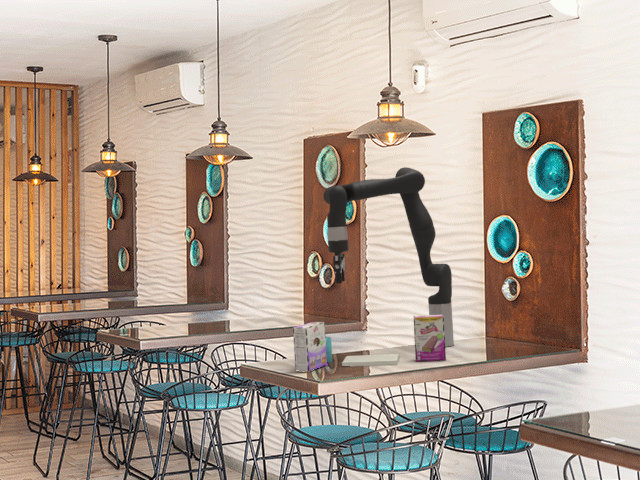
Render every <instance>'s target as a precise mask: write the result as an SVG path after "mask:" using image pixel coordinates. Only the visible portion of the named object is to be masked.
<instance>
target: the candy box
mask: <svg viewBox="0 0 640 480" xmlns="http://www.w3.org/2000/svg"><path fill="white" fill-rule="evenodd" d="M292 331H293V332H292V333H293V334H292V335H293V348H294V349H293V351H294V365H295V367H294V368H295V371H296V370H299V371H310V370H313V369H317V368H319V369H321V368H320V367H322V368H325V367H327V366H328V363H327V351H326V337H327V335H326V327H325V322H324V321H312V322H308V323H305V324H300V325H297V326H293V327H292ZM317 370H318V369H317Z"/></svg>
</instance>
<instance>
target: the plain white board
mask: <svg viewBox="0 0 640 480" xmlns="http://www.w3.org/2000/svg"><path fill="white" fill-rule="evenodd" d="M399 361H400V354H399V353H393V354H391V353H390V354H368V355H366V354H365V355H361V354H360V355H346V357H345V358H344V359H343V361H342V362H341V367H342V366H350V367H369V366H370V367H374V366H376V365H377V366H378V367H379V366H396V365H397V366H398V363H399ZM377 366H376V367H377Z"/></svg>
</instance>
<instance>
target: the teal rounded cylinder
mask: <svg viewBox="0 0 640 480" xmlns="http://www.w3.org/2000/svg"><path fill="white" fill-rule="evenodd" d="M332 344H333V343H332V337H331V336H326V351H327V362H328V363H332V362H333V350H332V349H333V347H332Z"/></svg>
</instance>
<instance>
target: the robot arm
mask: <svg viewBox="0 0 640 480" xmlns="http://www.w3.org/2000/svg"><path fill="white" fill-rule="evenodd" d="M425 179H426V178H425V176H424V174H423V173H422V172H420V171H419V170H417V169H414V168H410V167H405V166H404V167H401V168H399V169H398V170H397V171H396V173H395V176H394V177H389V178H381V179H380V178H377V179H376V178H375V179H374V178H372V179H364V180H358V181H354V182H350V183H347V184H341V185H339V184H338V185H332V186H329V187H327V188H326V189H325V190H324V192H323V196H322V197H323V200H324V201H325V203H327V204H328V205H329V212H327V217H326V220H327V247H328V248H327V249H328V251H327V252H328V253H334V255H333V256H332V260H333V273H334V274H335V283H336V284H342V283H343V282H345V280H346V277H345V272H346V271H345V270H346V261H345V260H346V256H345V254H344V253H345V252H348V251H349V239H348V238H349V237H348V236H349V235H348V230H347V229H348V228H347V216H346V212H347V208H348V207H347V206H348V202H352V201H353V202H354V201H355V202H356V201H363V200H366V199H371V198H376V197H382V196H387V195H388V196H389V195H400V198H401V200H402V203H403V207H404V210H405V211H404V212H405V213H406V217H407V221H408V225H409V228H410V229H409V230H410V232H411V236H412V238H413V242H414V245H415V249H416V252H417V257H418V261H419V266H420V274H421V276H422V280H423V283H424V284H425V285H426V286H427V287H438V291H437V292H436V293H434V294H432V295H430V296H428V297H427V299H428V302H427V303H428V315H443V316H444V333H445V348H446V347H452V346H455V345H454V343H455V340H454V339H455V338H454V325H453V310H452V309H453V307H452V306H453V305H452V297H453V296H452V295H453V291H452V289H453V286H452V284H453V280H452V279H453V278H452V277H453V276H452V275H453V274H452V268H451V266H450V265H449V264H448V263H433V262H432V257H431V251H432V246H433V245H434V242H435V238H436V230H435V229H436V228H435V224H434V222H433V218H432V216H431V215H430V212H429V211H428V209H427V207H426V206H425V204H424V202H423V201H422V198H421V196H420V194H419V192H420V191H422V190H423V188H424V187H425V184H426V180H425Z"/></svg>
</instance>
